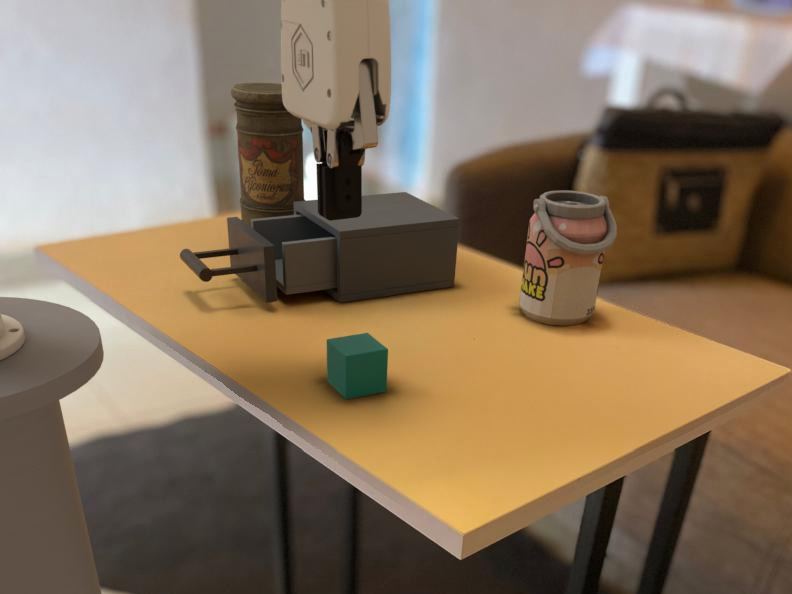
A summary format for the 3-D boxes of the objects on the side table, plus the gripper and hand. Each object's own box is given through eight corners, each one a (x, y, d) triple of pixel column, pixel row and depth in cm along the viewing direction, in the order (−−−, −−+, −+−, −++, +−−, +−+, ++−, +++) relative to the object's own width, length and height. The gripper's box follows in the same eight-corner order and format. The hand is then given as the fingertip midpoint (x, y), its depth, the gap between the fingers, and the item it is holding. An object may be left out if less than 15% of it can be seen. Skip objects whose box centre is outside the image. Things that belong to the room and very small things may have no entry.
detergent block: (345, 400, 72) (345, 356, 70) (326, 381, 75) (326, 338, 72) (387, 391, 74) (388, 348, 71) (366, 374, 76) (367, 332, 74)
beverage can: (613, 328, 88) (636, 209, 81) (542, 335, 86) (559, 213, 79) (571, 298, 95) (589, 186, 88) (504, 303, 93) (517, 189, 86)
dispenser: (339, 303, 91) (339, 231, 86) (295, 268, 100) (293, 201, 95) (454, 286, 97) (459, 218, 92) (403, 255, 106) (405, 191, 101)
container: (243, 234, 110) (232, 79, 99) (311, 237, 110) (308, 83, 100) (234, 255, 103) (222, 90, 92) (308, 258, 103) (304, 94, 93)
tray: (208, 311, 85) (203, 253, 82) (177, 276, 93) (170, 222, 90) (381, 287, 93) (382, 233, 90) (338, 257, 101) (338, 207, 98)
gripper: (244, -63, 61) (262, 199, 72) (333, -60, 51) (338, 247, 62) (336, -60, 65) (340, 191, 75) (438, -56, 54) (426, 235, 65)
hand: (339, 215), depth 68 cm, fingers closed
